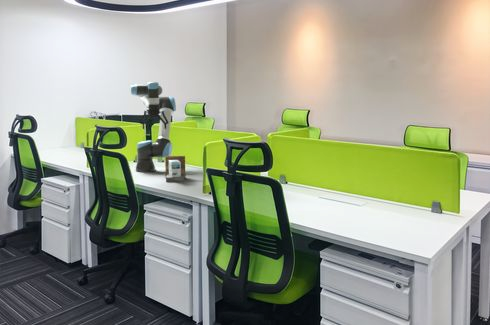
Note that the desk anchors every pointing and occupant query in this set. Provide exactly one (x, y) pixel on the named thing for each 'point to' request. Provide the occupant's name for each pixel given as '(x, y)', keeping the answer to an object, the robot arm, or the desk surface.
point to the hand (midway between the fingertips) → (154, 133)
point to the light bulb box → (174, 168)
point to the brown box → (182, 160)
